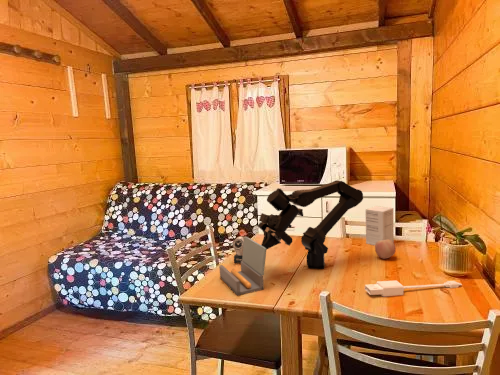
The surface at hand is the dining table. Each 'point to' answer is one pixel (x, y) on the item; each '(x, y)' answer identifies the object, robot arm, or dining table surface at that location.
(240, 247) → the watch
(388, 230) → the supplement box
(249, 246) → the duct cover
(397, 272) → the dining table surface
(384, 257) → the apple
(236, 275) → the cable duct
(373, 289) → the charging cable
